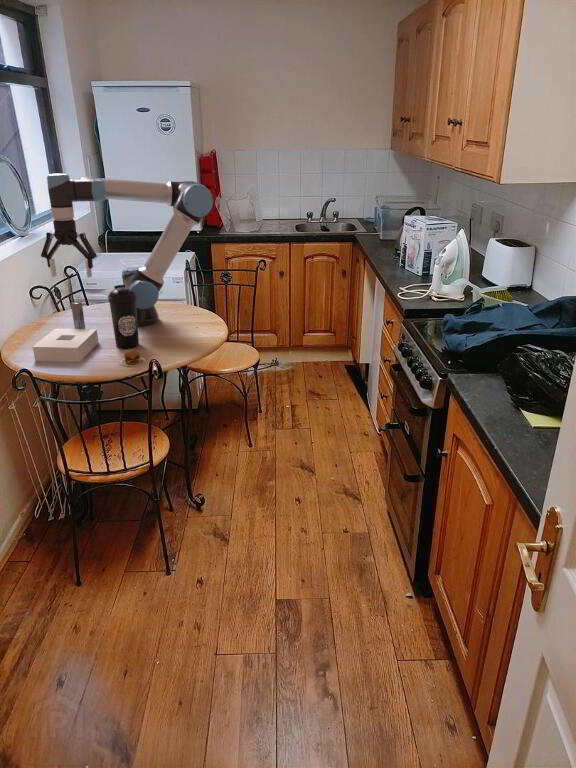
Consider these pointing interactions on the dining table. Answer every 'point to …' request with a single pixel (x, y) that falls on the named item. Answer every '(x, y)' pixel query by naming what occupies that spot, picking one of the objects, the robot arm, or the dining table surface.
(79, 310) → the steel pin
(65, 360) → the socket block
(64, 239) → the robot arm
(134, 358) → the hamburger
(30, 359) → the dining table surface
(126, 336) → the water bottle
